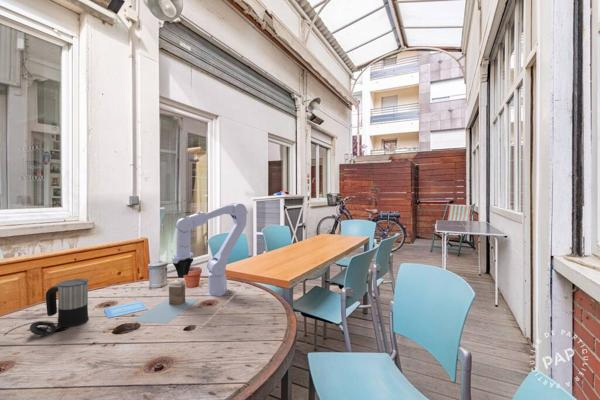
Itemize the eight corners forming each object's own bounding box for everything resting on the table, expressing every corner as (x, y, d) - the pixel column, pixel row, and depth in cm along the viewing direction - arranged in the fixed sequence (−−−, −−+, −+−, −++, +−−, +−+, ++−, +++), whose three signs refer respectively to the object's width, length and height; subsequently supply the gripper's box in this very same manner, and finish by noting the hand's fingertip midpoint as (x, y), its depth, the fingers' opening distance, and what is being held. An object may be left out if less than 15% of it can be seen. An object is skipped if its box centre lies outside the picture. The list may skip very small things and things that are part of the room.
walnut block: (174, 301, 128) (174, 280, 128) (185, 301, 127) (185, 280, 127) (169, 304, 124) (168, 283, 124) (180, 305, 123) (180, 283, 123)
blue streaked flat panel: (141, 303, 128) (141, 300, 128) (147, 311, 119) (147, 308, 119) (104, 311, 120) (103, 308, 120) (107, 321, 110) (107, 317, 110)
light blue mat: (168, 299, 132) (168, 298, 132) (198, 300, 130) (198, 299, 130) (131, 322, 108) (131, 321, 108) (167, 324, 106) (167, 323, 106)
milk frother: (93, 315, 114) (92, 277, 114) (76, 334, 99) (75, 290, 99) (48, 320, 110) (47, 280, 110) (23, 340, 95) (22, 294, 94)
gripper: (183, 242, 139) (183, 271, 139) (165, 247, 125) (165, 280, 125) (197, 243, 138) (197, 272, 138) (181, 248, 124) (181, 280, 124)
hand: (183, 276), depth 131 cm, fingers open, 3 cm apart
